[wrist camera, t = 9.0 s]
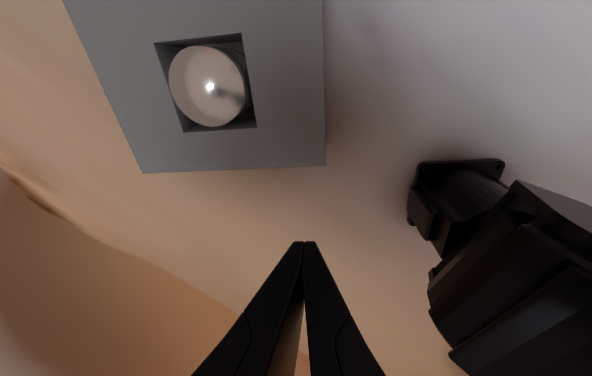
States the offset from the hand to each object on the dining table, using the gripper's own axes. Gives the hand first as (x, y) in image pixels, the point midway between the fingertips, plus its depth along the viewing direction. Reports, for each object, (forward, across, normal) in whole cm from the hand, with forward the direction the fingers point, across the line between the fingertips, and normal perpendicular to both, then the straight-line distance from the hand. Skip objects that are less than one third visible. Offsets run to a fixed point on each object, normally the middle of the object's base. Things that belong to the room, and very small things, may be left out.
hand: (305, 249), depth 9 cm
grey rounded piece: (+11, +6, -6) cm, 14 cm away
